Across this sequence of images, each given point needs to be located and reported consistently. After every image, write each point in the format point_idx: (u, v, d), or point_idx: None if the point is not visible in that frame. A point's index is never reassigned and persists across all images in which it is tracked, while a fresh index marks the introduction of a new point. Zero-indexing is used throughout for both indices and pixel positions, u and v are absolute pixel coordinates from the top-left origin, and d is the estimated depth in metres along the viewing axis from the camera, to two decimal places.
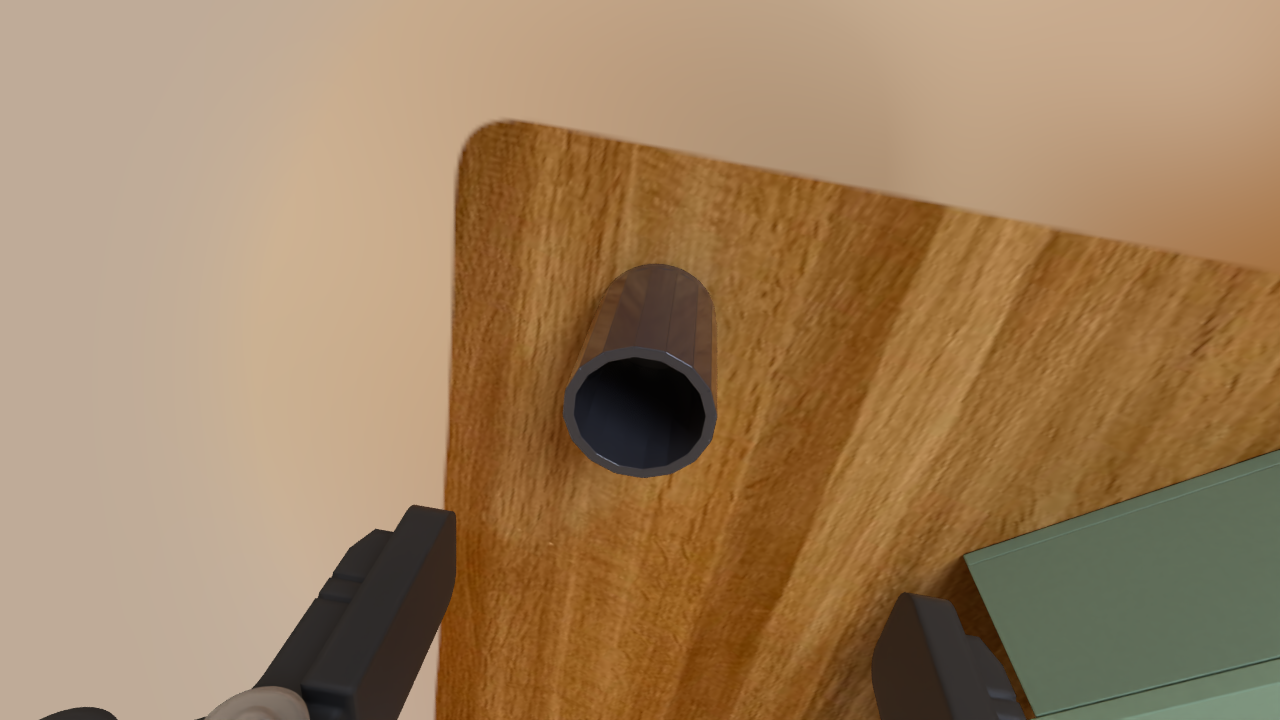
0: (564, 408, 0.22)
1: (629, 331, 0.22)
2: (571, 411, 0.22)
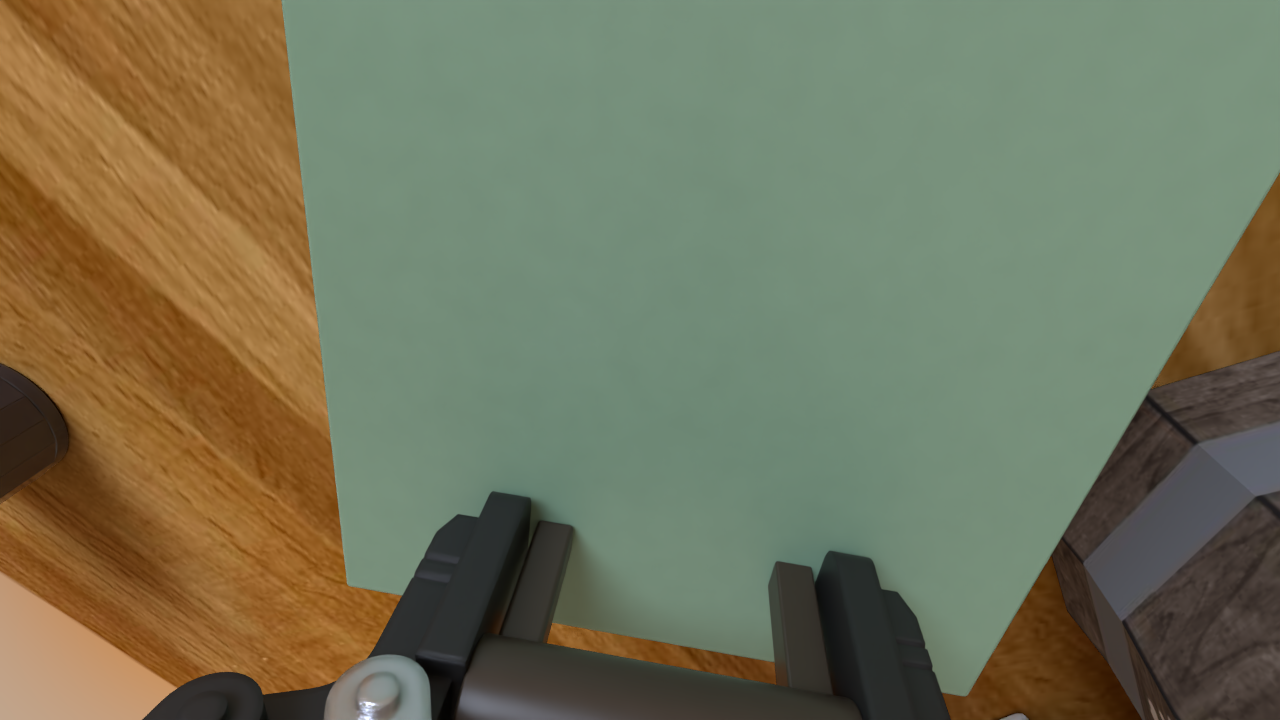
0: None
1: None
2: None
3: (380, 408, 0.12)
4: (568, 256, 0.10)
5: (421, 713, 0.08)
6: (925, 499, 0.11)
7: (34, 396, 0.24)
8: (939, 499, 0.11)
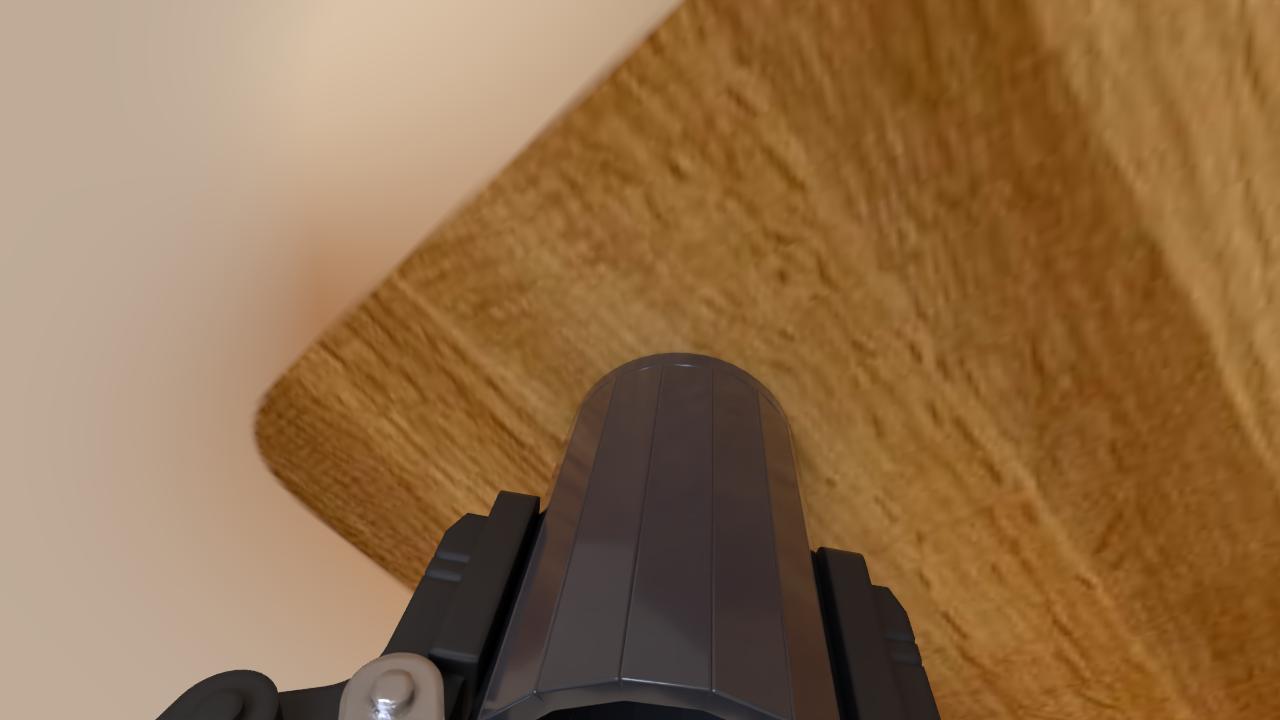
0: None
1: (498, 648, 0.09)
2: None
3: None
4: None
5: (435, 710, 0.08)
6: None
7: (786, 421, 0.14)
8: None
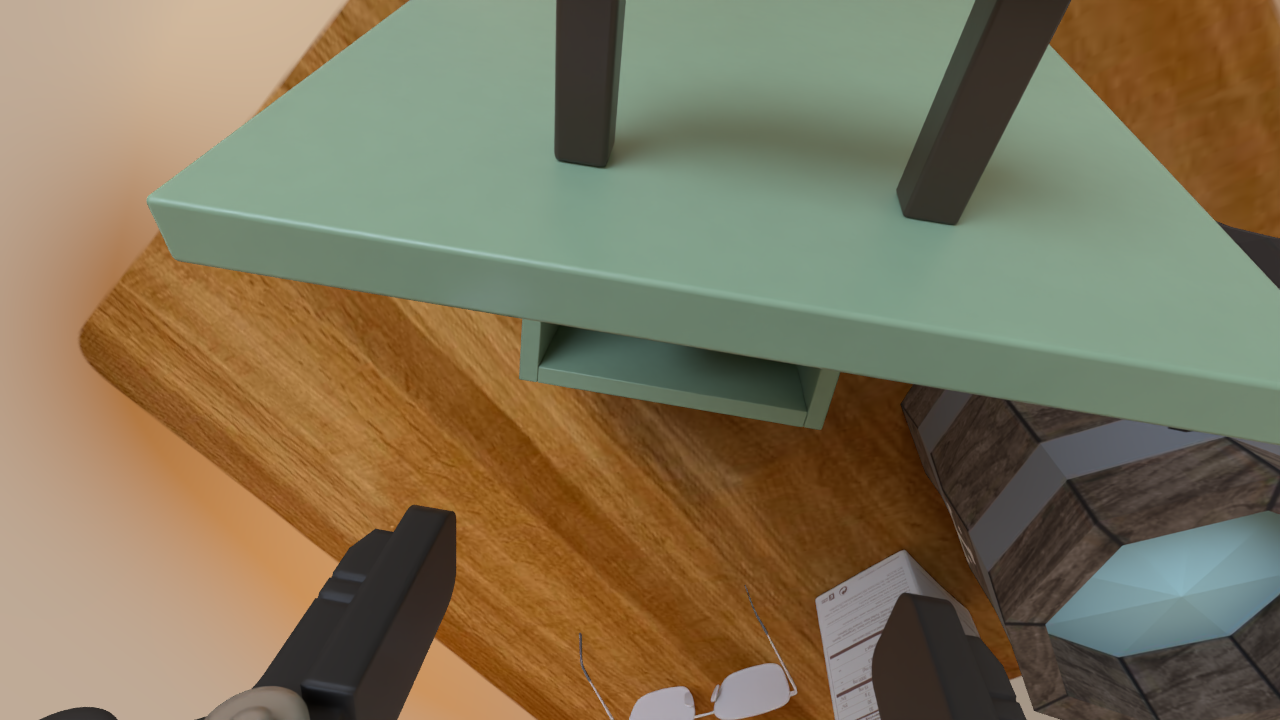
0: None
1: None
2: None
3: (406, 56, 0.10)
4: (629, 20, 0.13)
5: None
6: (1013, 151, 0.10)
7: None
8: (1027, 152, 0.10)
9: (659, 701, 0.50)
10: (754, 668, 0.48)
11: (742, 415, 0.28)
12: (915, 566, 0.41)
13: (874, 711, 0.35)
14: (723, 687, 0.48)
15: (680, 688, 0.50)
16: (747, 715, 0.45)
